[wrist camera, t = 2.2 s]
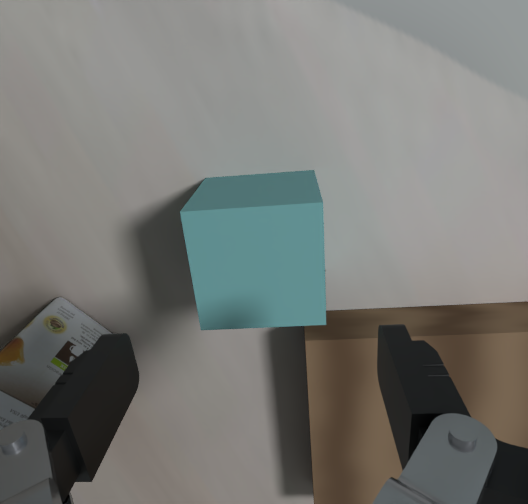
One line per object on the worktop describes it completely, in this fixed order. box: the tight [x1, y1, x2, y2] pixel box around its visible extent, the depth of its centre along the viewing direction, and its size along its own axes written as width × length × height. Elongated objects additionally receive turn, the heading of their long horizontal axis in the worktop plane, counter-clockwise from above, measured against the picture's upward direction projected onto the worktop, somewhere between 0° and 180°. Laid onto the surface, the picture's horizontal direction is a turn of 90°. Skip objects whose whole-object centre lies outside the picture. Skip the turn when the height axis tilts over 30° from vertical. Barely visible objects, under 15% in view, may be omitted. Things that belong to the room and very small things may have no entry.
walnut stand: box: [304, 302, 528, 504], centre depth 27 cm, size 16×16×3 cm
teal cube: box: [180, 170, 326, 330], centre depth 21 cm, size 6×6×6 cm
